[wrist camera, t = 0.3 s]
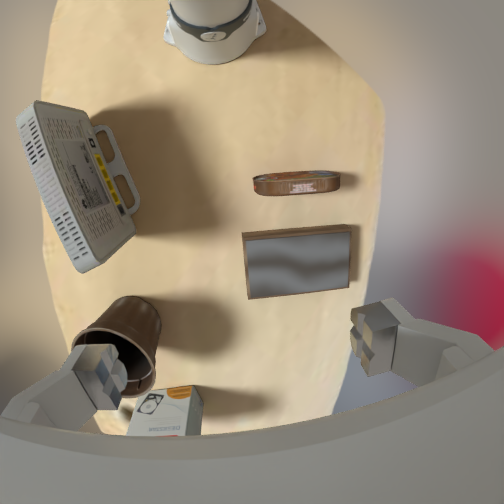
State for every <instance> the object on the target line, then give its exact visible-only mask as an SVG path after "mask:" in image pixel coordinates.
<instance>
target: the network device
mask: <svg viewBox="0 0 504 504" xmlns="http://www.w3.org/2000/svg"><path fill="white" fill-rule="evenodd" d="M16 125H17V128H18V132H19V135H20V138H21V142H22V145H23V148H24V151H25V154H26V157H27V160H28V163H29V166H30V169H31V171H32V174H33V177H34V180H35V182H36V185H37V187H38V190H39V192H40V195H41V197H42V200H43V202H44V205H45V207H46V209H47V212H48V214H49V216H50V218H51V221H52V223H53V225H54V227H55V229H56V231H57V234H58V236H59V238H60V240H61V242H62V244H63V246H64V248H65V250H66V252H67V254H68V256H69V258H70V260H71V261H72V263H73V265H74V267H75V269H76V270H77V271H78V272H80V273H82V274H83V273H85V272H87V271H89V270H91V269H93V268H95V267H97V266H99V265H101V264H103V263H105V262H106V261H107V260H108V259H109V258H110V257H111V256H112V255H113V254H114V253H115V252H116V251H117V250H119V249H120V248H121V247H122V246H123V245H124V244H125V243H126V242H127V241H128V240H129V239H131V238H132V237H133V236H134V235H135V234H136V227H135V225H134V222H133V220H132V218H131V216H130V215H132V214H133V213H135V212H136V211H137V210H138V208H139V206H140V195H139V193H138V190H137V188H136V186H135V184H134V182H133V179H132V177H131V175H130V173H129V170H128V168H127V166H126V163H125V161H124V159H123V156H122V154H121V151H120V149H119V147H118V144H117V142H116V139H115V137H114V134H113V132H112V130H111V129H110V128H109V127H108V126H105V125H97V126H95V127H93V128H92V125H91V122H90V120H89V117H88V115H87V114H86V113H85V112H84V111H83V110H79V109H75V108H70V107H66V106H61V105H57V104H52V103H48V102H43V101H38V100H36V101H35V102H34V103H32V104H31V105H30V106H29V107H27V108H26V109H25V110H24V111H23V112H22V113H21V114H19V115H18V116H17V118H16ZM101 130H104V131H106V133H107V135H108V138H109V140H110V143H111V145H112V148H113V150H114V153H115V158H114V160H113V161H111V162H110V163H108V164H107V163H106V160H105V158H104V155H103V153H102V151H101V148H100V146H99V143H98V141H97V138H96V135H95V134H96V133H98V132H99V131H101ZM119 174H121V175H123V176H124V177H125V178H126V180H127V183H128V185H129V187H130V189H131V192H132V194H133V196H134V198H135V204H134V206H133V207H131V208H129V209H127V208H126V206H125V203H124V201H123V199H122V197H121V195H120V193H119V190H118V188H117V186H116V184H115V181H114V179H113V178H114V177H116V176H117V175H119Z"/></svg>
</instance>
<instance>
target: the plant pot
mask: <svg viewBox="0 0 504 504" xmlns="http://www.w3.org/2000/svg"><path fill="white" fill-rule="evenodd" d="M160 331H161V321H160V318H159V315H158V313H157V312H156V310H155V309H154V308H153V307H152V306H151V305H150V304H149V303H146V302H144V301H143V300H142V299H141V298H138V297H133V296H126V297H122V298H119V299H117V300H116V301H114V302H113V304H112V305H111V306H110V307H109V308H108V309H107V310H106V311H105V312H104V313H103V314H102V315H101V316H100V317H99V318H98V319H97V320H96V321H95V322H94V323H92V324H91V325H90V326H88V327H87V329H85V330H83V331H81V332H80V333H79V334H78V335H77V336H76V337H75V338H74V340H73V343H72V348H71V352H72V351H73V349H74V348H75V346H77V345H91V344H113V345H114V346H115V347H116V349H117V351H118V353H119V354H118V358H117V359H118V360H119V361H121V362H122V363H123V364H124V366H125V368H126V372H127V385H126V388H125V389H124V390H123V391H121V392H120V394H121V396H122V398H136V397H140V396H143V395H145V394H146V393H148V392H149V391H150V390H151V389H152V387H153V385H154V383H155V378H156V371H155V363H156V360H155V354H156V349H157V344H158V339H159V334H160Z"/></svg>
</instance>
